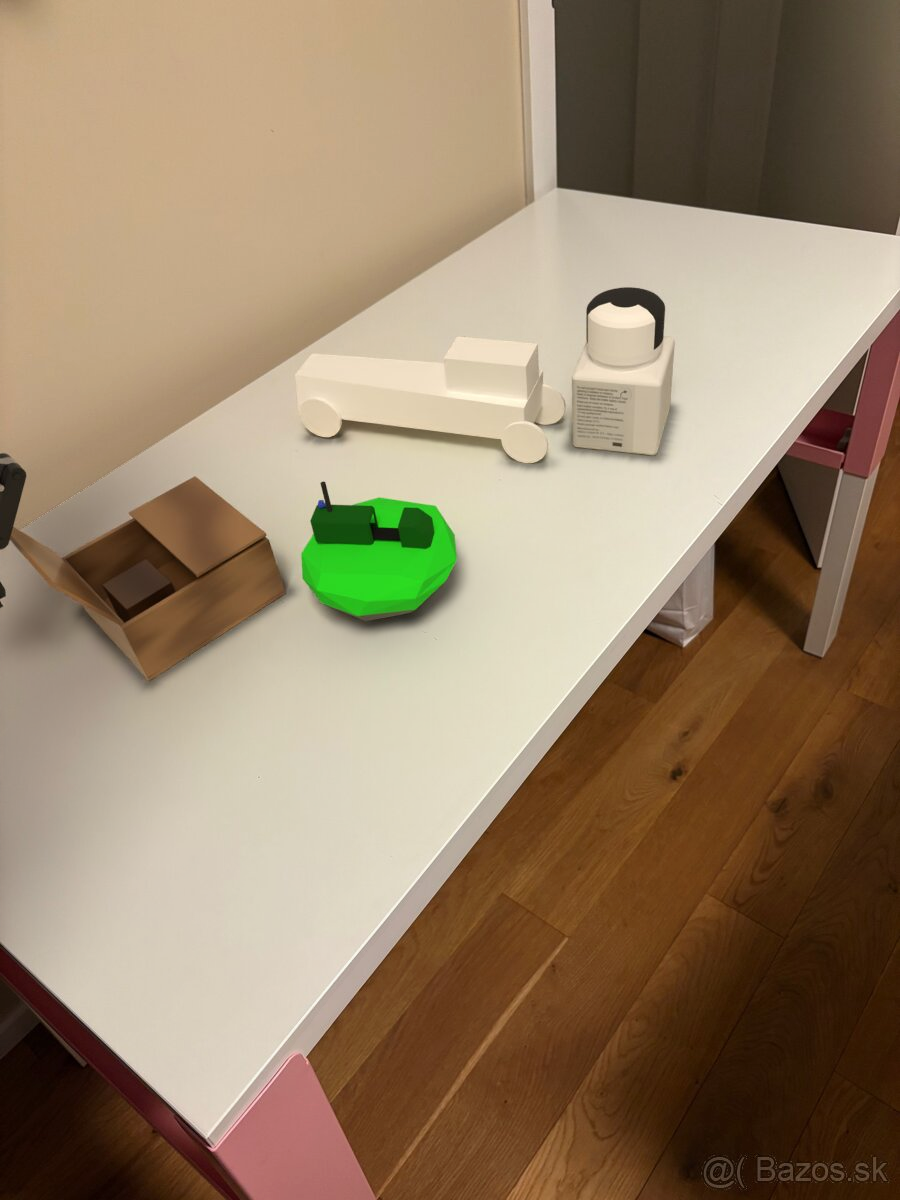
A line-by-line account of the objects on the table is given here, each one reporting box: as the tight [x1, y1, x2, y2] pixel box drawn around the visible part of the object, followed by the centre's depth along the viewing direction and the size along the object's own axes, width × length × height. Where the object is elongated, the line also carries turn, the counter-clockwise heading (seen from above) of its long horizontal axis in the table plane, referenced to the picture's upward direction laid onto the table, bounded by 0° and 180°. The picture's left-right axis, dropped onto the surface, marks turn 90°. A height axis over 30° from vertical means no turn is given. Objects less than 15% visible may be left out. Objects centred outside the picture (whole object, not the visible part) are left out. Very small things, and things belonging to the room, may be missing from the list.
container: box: [571, 286, 676, 456], centre depth 84 cm, size 8×8×13 cm
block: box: [102, 559, 176, 623], centre depth 75 cm, size 4×4×4 cm
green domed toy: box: [300, 481, 458, 622], centre depth 72 cm, size 12×12×11 cm
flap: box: [9, 526, 119, 624], centre depth 68 cm, size 6×11×1 cm
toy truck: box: [294, 336, 567, 464], centre depth 88 cm, size 25×7×9 cm, turn 70°
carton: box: [60, 475, 287, 682], centre depth 75 cm, size 13×11×7 cm
